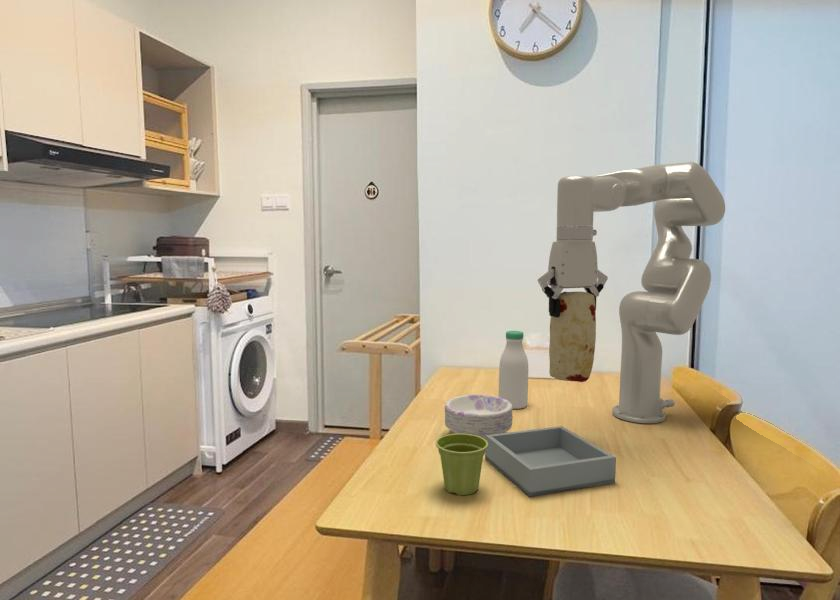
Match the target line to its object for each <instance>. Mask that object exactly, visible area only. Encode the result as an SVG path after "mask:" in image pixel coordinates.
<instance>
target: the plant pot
mask: <svg viewBox="0 0 840 600" xmlns="http://www.w3.org/2000/svg"><path fill="white" fill-rule="evenodd" d="M435 446H436V448H437V450H438V454H439V455H440V462H441V468H442V477H443V478H442V479H443V485H444V486H443V487H444V489H445V491H446V492H448V493H450V494H451V493H454V494H456V495H458V496H469V495H472V494H474V493H475V492H476V491H478V490H479V486H480V481H481V480H480V478H481V472H482V465H483V461H484V459H483V458H484V457H485V449H486V448H487V447H488V442H487V441H486V440H485V439H484V438H482V437H479V436H476V435H472V434H454V433H451V434H445V435H443V436H440V437H438V438H436V439H435Z"/></svg>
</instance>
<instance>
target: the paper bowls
mask: <svg viewBox="0 0 840 600" xmlns="http://www.w3.org/2000/svg"><path fill="white" fill-rule="evenodd" d="M513 410H514V409H513V407H512V404H511V403H510V402H509V401H507V400H506V399H503V398H500V397H499V396H496V395H495V396H494V395H488V394H465V395H459V396H455V397H452V398H450V399H448V400H447V401H446V402H445V404H444V425H445V427H446V428H448V430H451V431H453V434H472V435H476V436H479V437H482V438H484V439H485V435H492V434H500V433H507V432H509V431H510V430H511V428H512V427H513V418H514V417H513Z"/></svg>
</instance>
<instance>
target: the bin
mask: <svg viewBox="0 0 840 600" xmlns="http://www.w3.org/2000/svg"><path fill="white" fill-rule="evenodd" d="M485 440H486V441H487V442H488V447H487V448H486V449H485V454H484V460H486V461H487V462H488V463H489V464H490V465H492V466H493V467H494V468H495V469H496V470H497V471H498V472H500V473H501V474H502V475H503V476H504V477H505V478H507V479H508V480H509V481H510V482H511V483H512V484H514V485H515V486H516V487H517V488H518V489H519V490H521V491H522V492H523V493H524V494H525V495H526V496H527V497H528V498H530V497H531V498H532V497H537V496H543V495H544V496H545V495H550V494H557V493H562V492H567V491H575V490H581V489H586V488H593V487H599V486H604V485H605V486H606V485H611V484H612V485H613V484H616V472H617V456H616V455H613V454H611V453H610V452H608V451H606V450H604V449H603V448H601V447H599V446H597V445H596V444H595V443H592V442H591V441H589V440H587V439H585V438H584V437H582V436H580V435H578V434H576V433H575V432H573V431H572V430H570V429H568V428H566V427H564V426H563V425H560V426H551V427H543V428H535V429H526V430H518V431H511V432H509V431H507V432H504V433H500V434H492V435H485Z"/></svg>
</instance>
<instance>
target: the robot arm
mask: <svg viewBox="0 0 840 600" xmlns="http://www.w3.org/2000/svg"><path fill="white" fill-rule="evenodd" d="M556 195H557V197H556V198H557V199H556V200H557V201H556V202H557V203H556V241H552V243H551V248H550V251H549V252H550V253H549V258H548V265H547V266H548V267H547V272H546V273H544V274H542V276H540V277H539V278H538V279H537V282H538V284H539V286H540V288H541V290H542V292H543V293H544V294H545V296H546V298H548V313H549V314H548V315H549V316H550V317H551V316H553V317H556V318H557V317H560V299H558V296H559V295H560V293H562V292H563V290H564V289H581V288H582V289H584V292H587V293H590V294H593V295H594V298H595V314H596V311H597V298H598V297H599V296H600V293H601V292H602V291H603V289H604V288H605V287H604V286H605V284H606V283H607V281H608V276H607V275H606V274H604V273H603V272H602V271H600V270H599V268H598V254H597V253H598V252H597V247H596V243H595V241H593V239H594V236H597V235H598V234H597V233H598V232H597V230H596V229H594V213H595V212H598V213H599V212H612V211H615V210H617V209H618V208H620V207H622V208H623V207H632V206H640V205H644V204H647V203H653V202H655V203H654V209H653V214H654V216H653V217H654V221H655V225H656V230H657V239H658V240H657V243H656V246H655V249H654V250H653V252H652V254H651V256H650V258H649V259H648V262H647V264H646V266H645V268H644V270H643V272H642V275H641V286H642V288H643V289H644V290H645V291H640V290H639V291H632V292H630V293H627V294H625V295H624V296H623V297H622V299H621V300H620V303H619V306H618V307H619V309H618V315H619V320H620V321H619V323H620V328H621V329H620V330H621V353H620V357H621V358H620V375H619V376H620V377H619V378H620V379H619V396H618V397H619V398H618V399H619V400H618V405H615V406H613V407H612V411H611V413H612V415H613V416H614V417H616V418H617V419H621V420H623V421H626V422H631V423H638V424H657V423H661V422H664V421H665V420H666V417H667V416H666V413H665V412H664V411H663V410H664V409H665V408H673V407H675V401H674V399H672V398H670V399H663V398H662V397H660V396H661V382H662V381H661V380H662V379H661V378H662V367H663V365H662V363H663V346H662V343H661V340H660V338H659V336H658V334H659V333H661V334H666V335H673V336H674V335H675V336H681V335H684V334H686V333H688V332H689V331H690V330H691V328H692V327H693V325H694V324H695V321H696V319H697V316H698V315H699V312H700V310H701V308H702V305H703V304H704V301H705V300H706V297H707V295H708V292H709V290H710V287H711V281H712V273H711V269H710V266H709V265H708V264H707V263H706V262H705V261H704V260H701V259H698V258H691V254H692V251H693V246H692V242H691V241H690V239H689V237H688V235H687V234H686V233H685V231H684V229H683V227H708V226H709V227H710V226H714V225H717V224H719V223H720V222H721V221H722V220H723V218H724V216H725V213H726V203H725V199H724V197H723V195H722V193H721V190H719V188H718V186H717V185H716V183H715V182H714V180H713V179H712V177H711V175H710V174H709V172H708V171H707V170H706V169H705V168H704V167H703V166H701V165H700V164H699V163H697V162H692V161H690V162H689V161H686V162H677V163H667V164H666V163H665V164H658V165H651V166H646V167H645V166H643V167H637V168H636V167H635V168H631V169H624V170H619V171H614V172H611V173H604V174H599V175H592V176H585V175H571V176H564V177H562V178H560V179H559V181H558V182H557V194H556ZM657 333H658V334H657Z"/></svg>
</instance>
